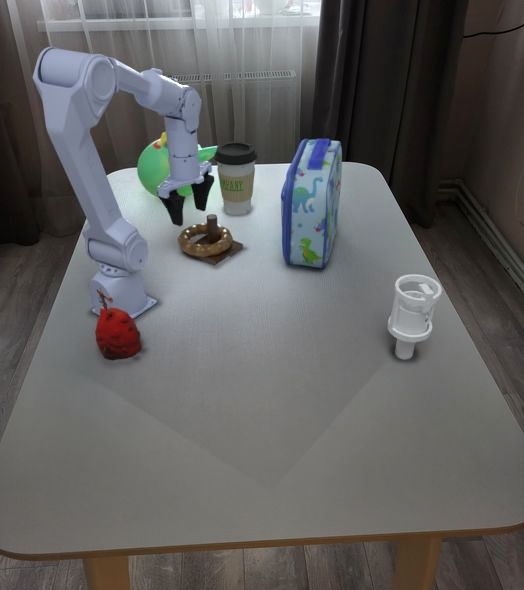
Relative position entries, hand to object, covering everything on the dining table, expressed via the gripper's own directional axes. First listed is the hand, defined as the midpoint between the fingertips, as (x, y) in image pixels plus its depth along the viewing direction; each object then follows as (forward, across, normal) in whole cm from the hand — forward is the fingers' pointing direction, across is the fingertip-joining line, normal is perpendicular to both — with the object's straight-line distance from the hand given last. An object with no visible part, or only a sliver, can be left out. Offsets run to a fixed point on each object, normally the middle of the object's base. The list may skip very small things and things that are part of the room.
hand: (189, 217), depth 115 cm
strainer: (+9, -6, -51) cm, 52 cm away
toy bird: (+9, +20, +20) cm, 30 cm away
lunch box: (+9, +17, -20) cm, 27 cm away
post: (+8, +3, -4) cm, 10 cm away
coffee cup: (+9, +22, +3) cm, 23 cm away
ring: (+6, +3, -2) cm, 7 cm away
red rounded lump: (+9, -32, -10) cm, 35 cm away
